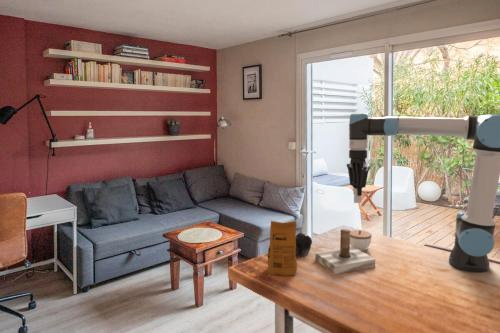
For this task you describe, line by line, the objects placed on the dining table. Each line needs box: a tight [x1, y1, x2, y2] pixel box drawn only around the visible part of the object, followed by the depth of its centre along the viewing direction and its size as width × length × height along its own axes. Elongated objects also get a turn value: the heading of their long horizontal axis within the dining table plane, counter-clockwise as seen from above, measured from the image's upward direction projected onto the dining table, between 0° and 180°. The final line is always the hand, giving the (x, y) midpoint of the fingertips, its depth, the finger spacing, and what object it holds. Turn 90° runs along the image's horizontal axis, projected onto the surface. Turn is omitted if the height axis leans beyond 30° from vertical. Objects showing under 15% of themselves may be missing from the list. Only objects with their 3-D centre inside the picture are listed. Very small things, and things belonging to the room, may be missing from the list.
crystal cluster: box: [296, 232, 313, 258], centre depth 177 cm, size 13×14×10 cm
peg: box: [339, 228, 351, 258], centre depth 163 cm, size 4×4×15 cm
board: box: [314, 246, 376, 275], centre depth 164 cm, size 16×20×4 cm
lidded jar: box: [350, 229, 372, 252], centre depth 181 cm, size 11×11×9 cm
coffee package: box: [267, 220, 298, 277], centre depth 156 cm, size 10×12×22 cm
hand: (357, 202), depth 164 cm, fingers closed
